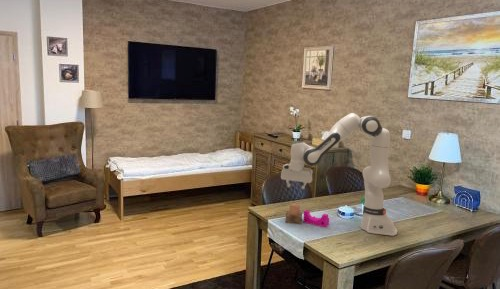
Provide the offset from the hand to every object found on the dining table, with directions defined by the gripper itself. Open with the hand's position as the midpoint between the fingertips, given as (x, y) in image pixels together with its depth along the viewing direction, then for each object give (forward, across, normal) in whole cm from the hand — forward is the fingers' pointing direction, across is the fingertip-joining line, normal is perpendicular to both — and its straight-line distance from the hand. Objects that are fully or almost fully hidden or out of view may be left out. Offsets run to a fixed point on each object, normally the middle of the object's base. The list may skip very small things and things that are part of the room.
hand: (295, 187), depth 244 cm
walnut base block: (+22, 0, 0) cm, 23 cm away
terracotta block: (+18, 0, 0) cm, 18 cm away
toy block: (+23, -14, -3) cm, 27 cm away
